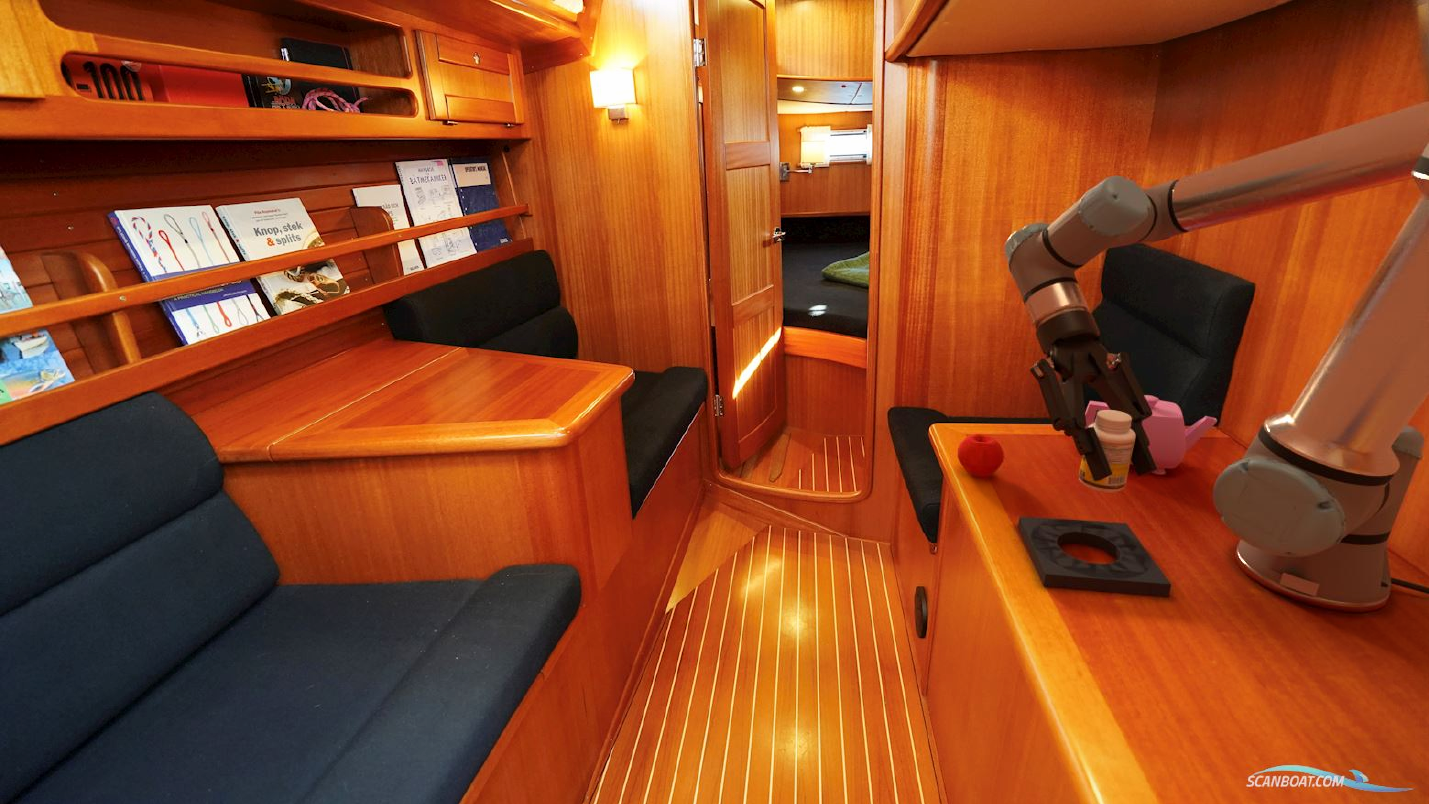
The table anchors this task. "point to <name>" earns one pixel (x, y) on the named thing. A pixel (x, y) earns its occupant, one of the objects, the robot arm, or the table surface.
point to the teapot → (1163, 431)
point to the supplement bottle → (1111, 450)
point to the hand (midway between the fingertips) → (1125, 474)
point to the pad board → (1065, 571)
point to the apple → (980, 455)
